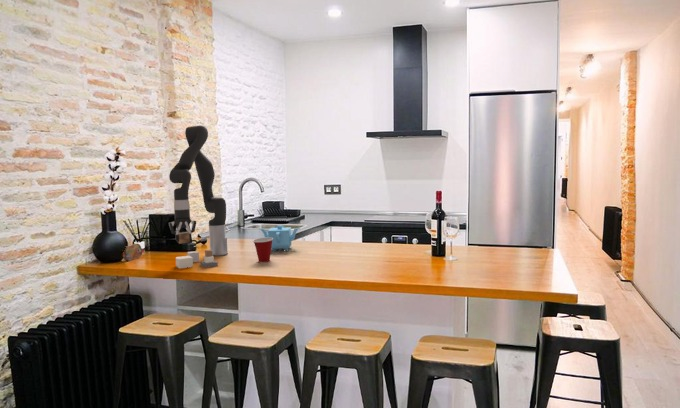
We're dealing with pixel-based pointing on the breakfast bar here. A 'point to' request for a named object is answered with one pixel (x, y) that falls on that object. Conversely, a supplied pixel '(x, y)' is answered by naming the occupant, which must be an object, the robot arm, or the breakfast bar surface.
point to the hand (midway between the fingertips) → (183, 241)
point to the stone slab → (132, 252)
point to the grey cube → (194, 255)
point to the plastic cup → (263, 248)
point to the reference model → (209, 259)
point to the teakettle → (280, 237)
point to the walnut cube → (184, 237)
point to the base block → (184, 262)
